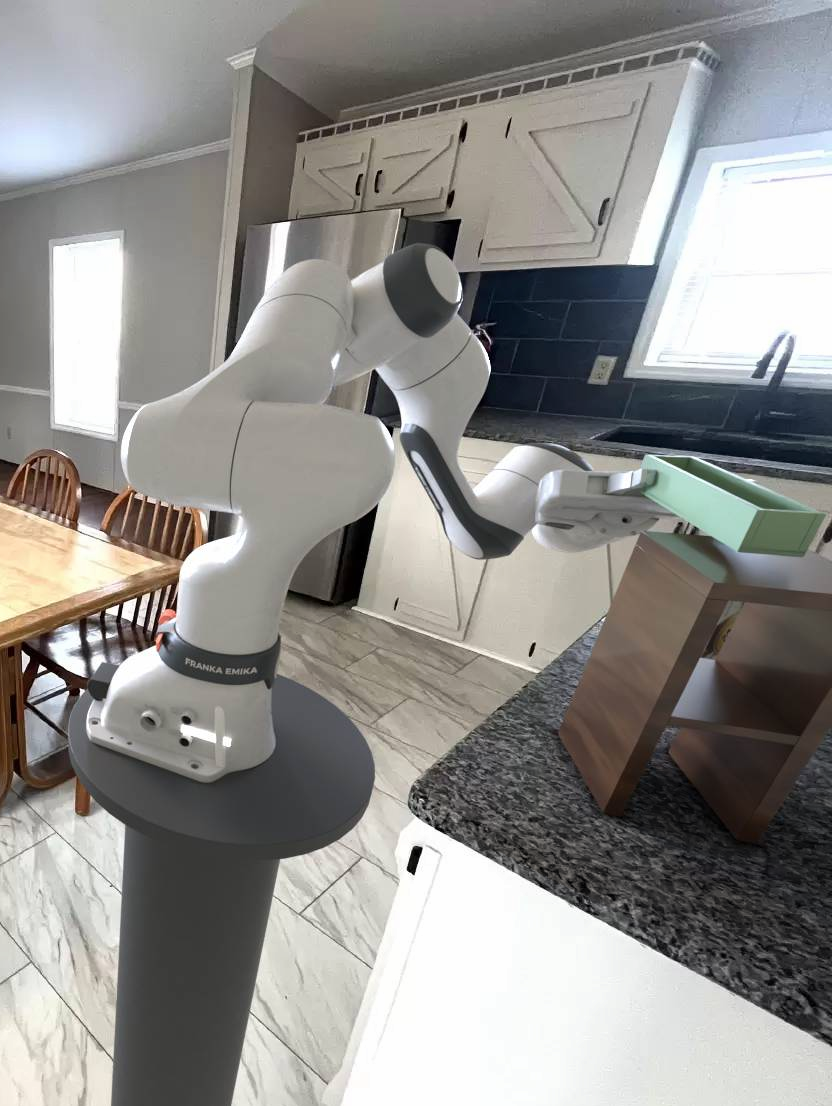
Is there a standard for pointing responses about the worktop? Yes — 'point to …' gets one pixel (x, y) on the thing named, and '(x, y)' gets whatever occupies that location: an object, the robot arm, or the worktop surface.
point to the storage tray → (732, 507)
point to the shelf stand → (708, 677)
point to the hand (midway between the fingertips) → (682, 477)
